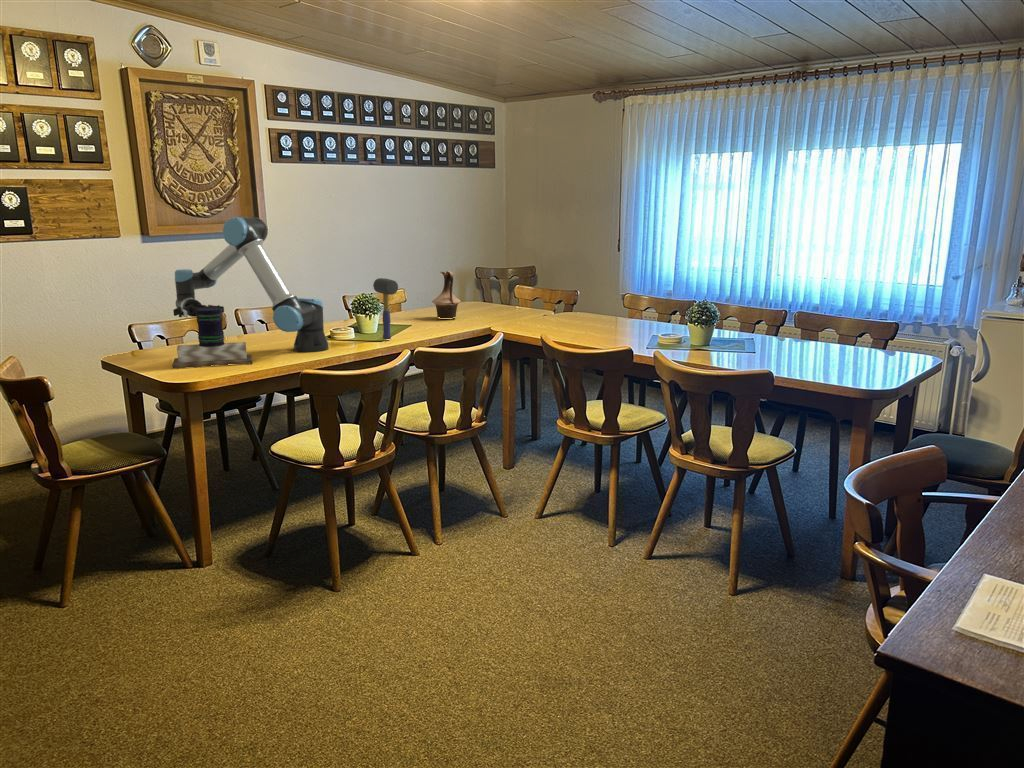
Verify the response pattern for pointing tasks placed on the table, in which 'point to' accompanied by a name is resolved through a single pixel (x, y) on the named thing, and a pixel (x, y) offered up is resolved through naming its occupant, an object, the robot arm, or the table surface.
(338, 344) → the table surface
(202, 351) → the ridge stand
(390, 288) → the rubber mallet
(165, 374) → the table surface
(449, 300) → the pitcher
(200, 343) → the storage jar
